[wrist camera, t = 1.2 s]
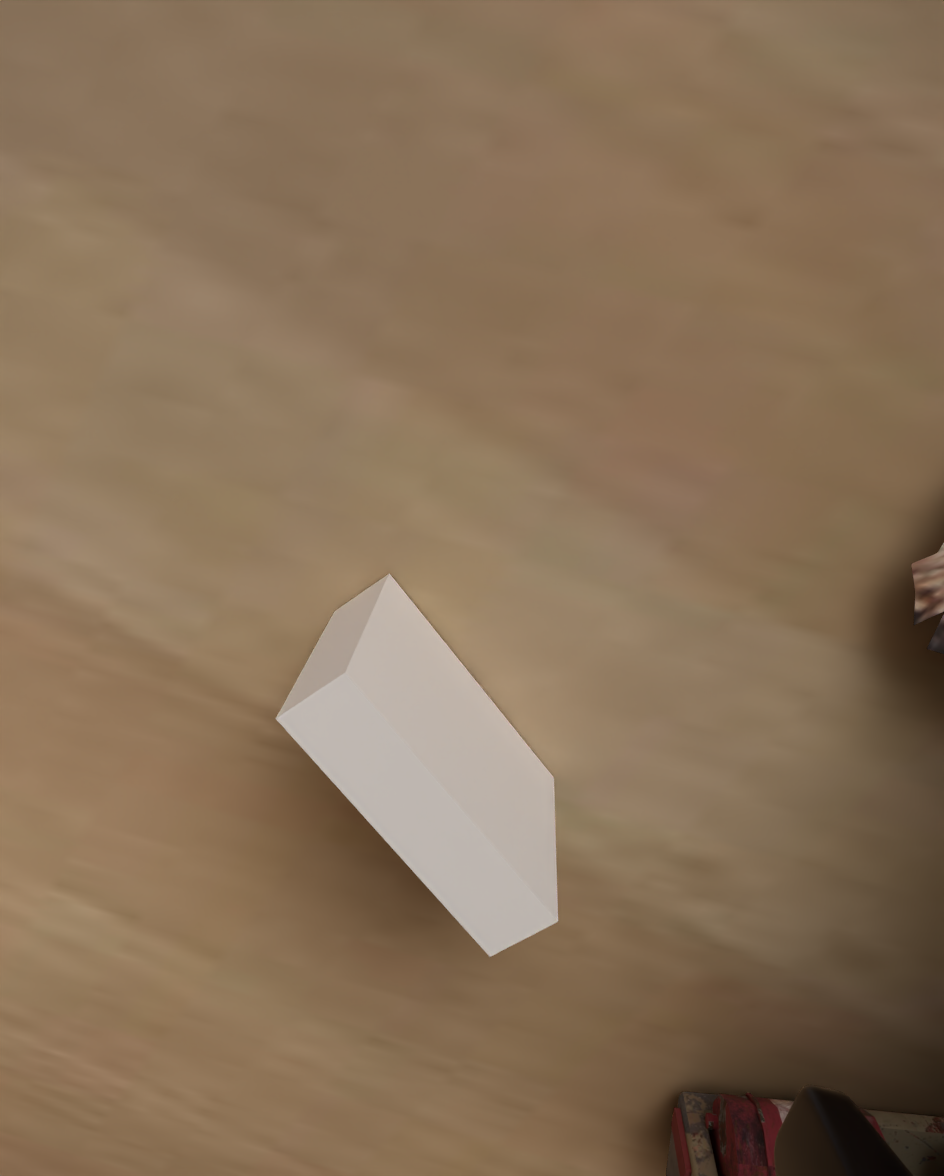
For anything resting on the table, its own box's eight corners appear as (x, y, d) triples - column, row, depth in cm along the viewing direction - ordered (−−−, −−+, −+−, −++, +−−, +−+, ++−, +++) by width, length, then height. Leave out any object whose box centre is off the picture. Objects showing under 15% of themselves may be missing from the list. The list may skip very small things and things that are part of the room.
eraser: (389, 570, 15) (344, 673, 11) (555, 775, 16) (559, 923, 13) (333, 609, 15) (272, 720, 12) (500, 807, 16) (489, 959, 13)
